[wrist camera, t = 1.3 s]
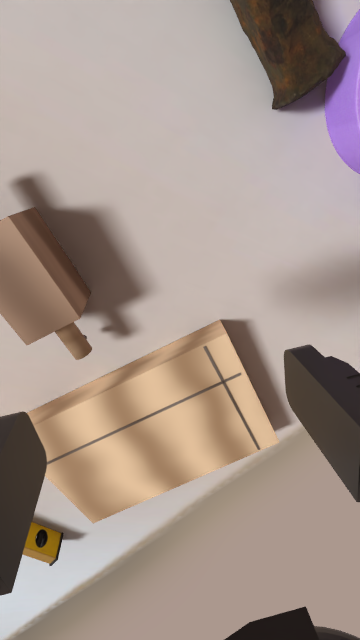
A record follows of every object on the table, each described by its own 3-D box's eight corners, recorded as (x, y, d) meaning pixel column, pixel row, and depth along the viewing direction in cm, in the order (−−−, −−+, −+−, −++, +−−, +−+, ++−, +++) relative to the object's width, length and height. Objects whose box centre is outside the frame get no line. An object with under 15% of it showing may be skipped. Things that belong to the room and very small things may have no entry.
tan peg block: (6, 163, 21) (-31, 161, 17) (111, 322, 27) (105, 353, 22) (-45, 192, 22) (-94, 199, 17) (69, 344, 27) (54, 378, 23)
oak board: (219, 319, 27) (227, 333, 25) (270, 423, 33) (279, 442, 31) (17, 417, 29) (6, 438, 27) (96, 500, 35) (93, 523, 33)
